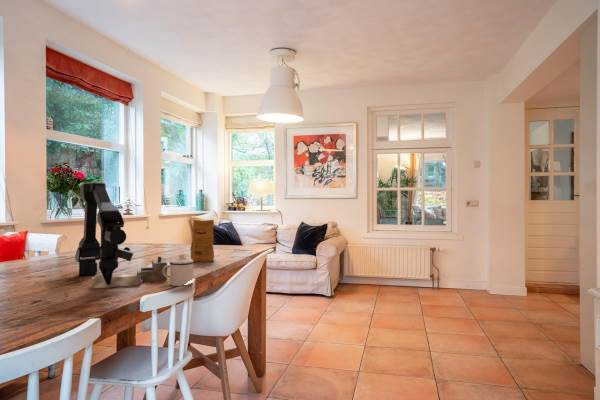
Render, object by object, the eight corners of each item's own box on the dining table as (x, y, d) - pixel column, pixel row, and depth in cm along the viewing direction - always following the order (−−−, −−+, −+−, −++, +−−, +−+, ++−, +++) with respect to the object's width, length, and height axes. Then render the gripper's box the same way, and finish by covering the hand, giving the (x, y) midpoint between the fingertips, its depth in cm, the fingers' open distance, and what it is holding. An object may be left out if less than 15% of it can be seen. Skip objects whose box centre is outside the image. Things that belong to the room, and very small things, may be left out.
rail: (91, 288, 143) (91, 275, 143) (92, 286, 147) (92, 273, 147) (141, 284, 151) (141, 272, 150) (140, 282, 154) (140, 270, 154)
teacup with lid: (196, 281, 157) (196, 252, 157) (189, 286, 148) (190, 256, 148) (166, 281, 157) (166, 252, 157) (158, 286, 148) (158, 255, 148)
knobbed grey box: (142, 281, 156) (142, 259, 156) (140, 277, 164) (141, 256, 164) (166, 279, 160) (167, 257, 160) (164, 275, 168) (164, 254, 168)
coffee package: (191, 259, 212) (191, 219, 212) (214, 259, 214) (215, 219, 214) (189, 262, 202) (189, 220, 202) (213, 262, 204) (214, 220, 204)
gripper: (133, 244, 143) (132, 286, 143) (131, 239, 159) (130, 277, 160) (99, 245, 138) (98, 289, 138) (100, 240, 155) (100, 279, 155)
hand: (108, 283), depth 148 cm, fingers closed on rail, 4 cm apart
